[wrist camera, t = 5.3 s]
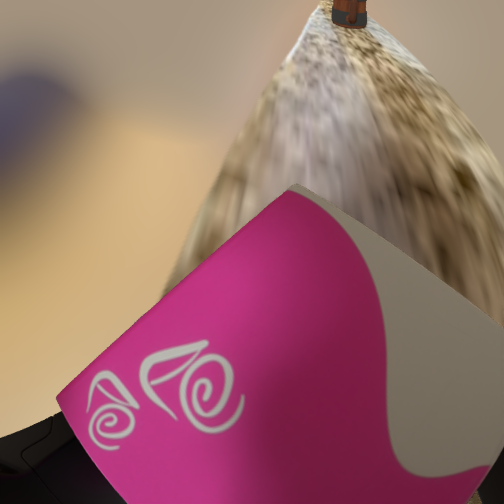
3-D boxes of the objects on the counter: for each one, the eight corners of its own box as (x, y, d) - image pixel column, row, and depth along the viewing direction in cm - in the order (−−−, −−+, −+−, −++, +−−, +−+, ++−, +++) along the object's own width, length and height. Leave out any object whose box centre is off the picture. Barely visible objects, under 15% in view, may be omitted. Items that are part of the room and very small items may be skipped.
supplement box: (289, 345, 15) (300, 166, 5) (378, 418, 12) (558, 362, 3) (205, 425, 13) (38, 392, 4) (294, 505, 11) (321, 653, 1)
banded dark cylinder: (333, 30, 54) (334, -15, 45) (330, 18, 61) (330, -21, 51) (371, 35, 53) (374, -10, 43) (363, 22, 59) (365, -17, 49)
